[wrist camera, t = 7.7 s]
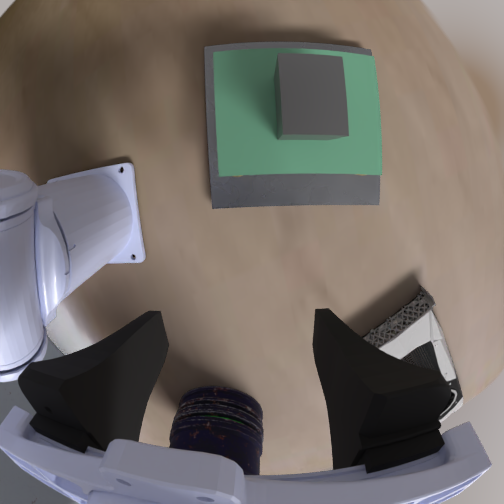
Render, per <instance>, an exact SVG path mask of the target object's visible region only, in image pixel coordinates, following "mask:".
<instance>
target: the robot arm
mask: <svg viewBox="0 0 504 504" xmlns="http://www.w3.org/2000/svg"><path fill="white" fill-rule="evenodd" d="M121 167H123V169H124V171H123V173H122V172H121V171H120V169H121ZM132 254H134V255H135V256H136V259H135V258H133V256H132ZM145 258H146V255H145V249H144V243H143V237H142V231H141V224H140V217H139V209H138V201H137V193H136V184H135V173H134V166H133V164H132V163H129V162H127V163H121V164H116V165H111V166H106V167H101V168H96V169H91V170H87V171H82V172H78V173H74V174H70V175H66V176H62V177H58V178H54V179H51V180H48V182H47V184H44V185H40V186H37V185H36V184H35V183H34V182H33V181H32V180H31V179H30V178H29V177H28V176H27V175H26V174H25V173H22V172H19V171H13V170H2V169H0V382H9V381H14V380H17V379H18V384H19V387H20V389H21V391H22V393H23V394H24V396H25V397H26V399H27V400H28V402H29V403H30V404H31V406H32V407H33V409H34V410H35V411H36V414H35V415H34V417H33V416H32V415H31V414H30V413H28V412H27V411H25V410H23V409H21V408H19V407H17V406H14V407H13V408H12V409H11V411H10V412H9V414H8V415H7V416H6V418H5V419H4V421H3V422H2V423H1V425H0V448H1V449H2V450H3V451H4V452H5V453H6V454H7V455H8V456H9V457H10V458H11V459H12V460H13V461H14V462H15V463H16V464H17V465H18V466H19V467H20V468H21V469H23V470H24V471H26V472H27V473H29V474H30V475H32V476H33V477H35V478H36V479H38V480H40V481H41V482H43V483H44V484H46V485H48V486H49V487H51V488H53V489H54V490H56V491H58V492H59V493H61V494H63V495H65V496H66V497H68V498H70V499H72V500H74V501H76V502H78V503H80V504H440V503H442V502H444V501H446V500H448V499H450V498H452V497H454V496H455V495H458V494H459V493H461V492H462V491H463V490H464V489H466V488H467V487H468V486H470V485H471V484H472V483H473V482H474V481H476V480H477V479H478V478H479V477H480V476H481V475H483V474H484V473H485V472H486V471H487V470H488V469H489V468H490V467H491V465H492V464H491V462H490V460H489V457H488V455H487V454H486V451H485V449H484V447H483V445H482V444H481V442H480V440H479V438H478V436H477V434H476V432H475V430H474V429H473V427H472V425H471V423H470V422H466V423H463V424H462V425H459V426H457V427H454V428H452V429H450V430H448V431H446V432H445V433H443V434H442V435H441V434H440V432H439V430H438V429H439V428H440V427H441V423H440V421H439V419H438V418H439V416H440V415H441V413H442V412H443V410H444V408H445V407H446V405H447V403H448V401H449V399H450V397H451V388H450V386H449V384H448V383H447V381H446V380H445V378H444V376H443V375H442V374H441V372H440V371H437V370H432V369H428V368H424V367H420V366H417V365H414V364H411V363H408V362H405V361H403V360H400V359H398V358H396V357H394V356H391V355H389V354H387V353H385V352H384V351H382V350H380V349H378V348H377V347H375V346H373V345H372V344H370V343H369V342H367V341H366V340H364V339H363V338H362V337H360V336H359V335H358V334H357V333H355V332H354V331H353V330H352V329H350V328H349V327H348V326H347V325H346V324H345V323H344V322H343V321H341V320H340V319H339V318H338V317H337V316H336V315H335V314H334V313H333V312H332V311H331V310H330V309H329V308H326V309H315V321H314V333H313V352H314V359H315V364H316V368H317V371H318V375H319V378H320V382H321V385H322V389H323V393H324V396H325V400H326V405H327V410H328V418H329V425H330V434H331V444H332V457H333V470H329V471H321V472H312V473H302V474H287V475H244V473H243V470H242V469H241V467H240V466H239V465H238V464H237V463H236V462H234V461H233V460H230V459H228V458H225V457H223V456H221V455H215V454H210V453H205V452H197V451H189V450H181V449H174V448H168V447H162V446H156V445H151V444H146V443H141V442H138V441H139V435H140V430H141V426H142V421H143V417H144V413H145V409H146V406H147V402H148V400H149V397H150V394H151V392H152V390H153V387H154V385H155V383H156V380H157V378H158V376H159V374H160V371H161V369H162V367H163V364H164V362H165V358H166V355H167V351H168V347H169V343H168V340H167V336H166V332H165V328H164V324H163V319H162V315H161V311H148V312H146V313H144V314H143V315H141V316H139V317H138V318H136V319H135V320H133V321H132V322H130V323H129V324H127V325H126V326H124V327H123V328H121V329H120V330H118V331H117V332H115V333H113V334H112V335H110V336H108V337H107V338H105V339H103V340H101V341H99V342H98V343H96V344H93V345H91V346H89V347H87V348H85V349H82V350H79V351H77V352H74V353H71V354H68V355H65V356H62V357H58V358H54V359H49V360H43V358H44V356H45V354H46V350H47V345H48V338H47V331H46V328H45V327H46V326H47V325H48V324H49V323H50V322H51V321H52V320H53V319H54V318H55V317H56V308H57V306H58V305H59V303H60V302H61V301H62V300H63V299H65V298H66V297H67V296H68V295H69V294H70V293H71V292H73V291H74V290H75V289H76V288H77V287H78V286H80V285H81V284H82V283H83V282H84V281H86V280H87V279H88V278H89V277H90V276H92V275H93V274H94V273H95V272H97V271H98V270H99V269H100V268H102V267H103V266H104V265H105V264H107V263H140V262H143V261H144V260H145ZM42 360H43V361H42Z"/></svg>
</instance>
